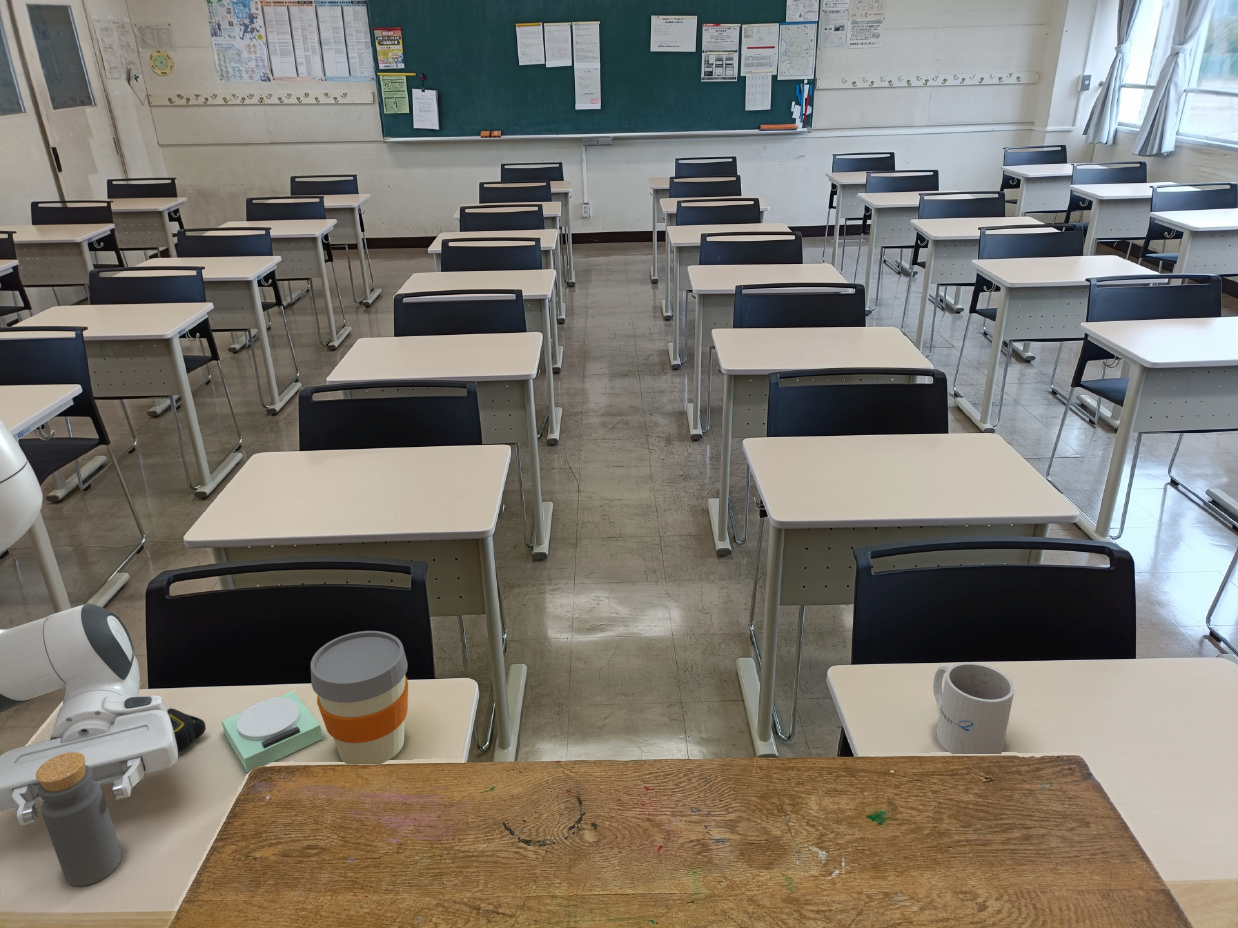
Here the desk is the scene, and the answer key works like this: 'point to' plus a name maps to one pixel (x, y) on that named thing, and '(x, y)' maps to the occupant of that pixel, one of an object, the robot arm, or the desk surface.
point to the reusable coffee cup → (363, 695)
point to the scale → (271, 730)
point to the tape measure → (185, 728)
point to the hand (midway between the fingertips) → (74, 806)
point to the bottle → (77, 819)
